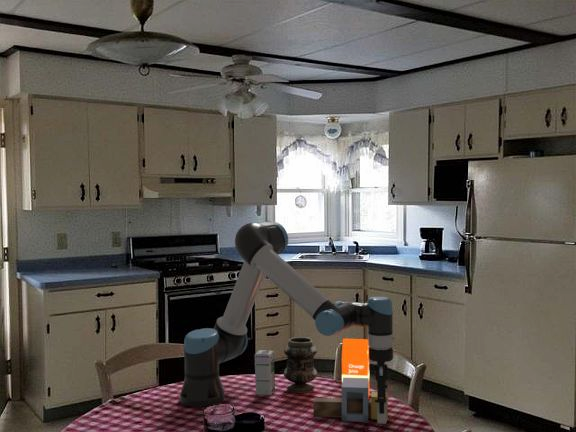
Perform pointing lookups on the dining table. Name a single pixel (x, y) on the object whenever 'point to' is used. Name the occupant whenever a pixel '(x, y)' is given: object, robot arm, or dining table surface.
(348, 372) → the orange juice
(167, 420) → the dining table surface
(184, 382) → the robot arm
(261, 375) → the syrup box
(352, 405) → the wooden bar
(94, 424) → the dining table surface
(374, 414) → the block
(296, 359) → the brown ornate vase
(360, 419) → the grey framed box
